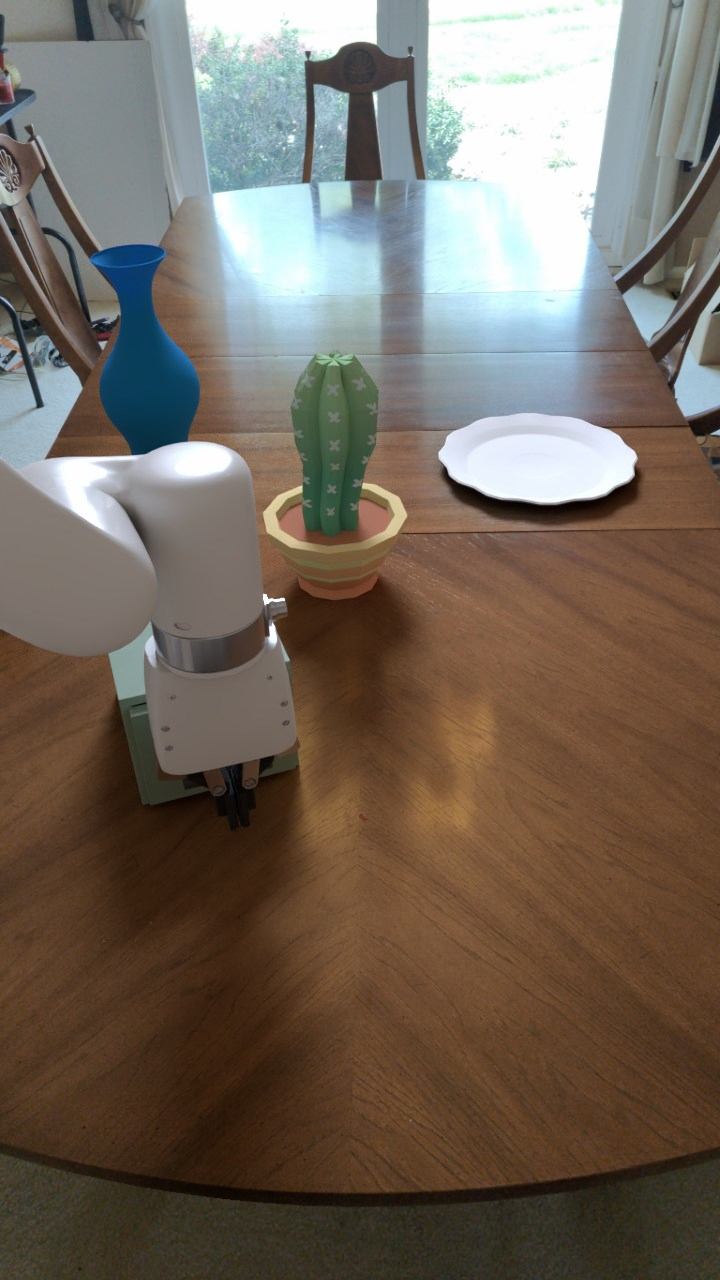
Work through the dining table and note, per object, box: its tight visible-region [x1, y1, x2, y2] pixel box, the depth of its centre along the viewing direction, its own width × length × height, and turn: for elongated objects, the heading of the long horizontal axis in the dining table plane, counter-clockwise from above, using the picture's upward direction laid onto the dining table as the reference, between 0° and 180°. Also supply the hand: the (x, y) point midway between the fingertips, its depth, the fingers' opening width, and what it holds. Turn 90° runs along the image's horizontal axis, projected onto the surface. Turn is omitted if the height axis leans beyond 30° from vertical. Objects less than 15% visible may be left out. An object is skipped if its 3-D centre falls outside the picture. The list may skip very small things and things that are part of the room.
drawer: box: [129, 702, 297, 806], centre depth 83 cm, size 19×12×10 cm, turn 19°
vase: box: [89, 243, 201, 456], centre depth 120 cm, size 12×13×28 cm
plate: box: [438, 412, 639, 507], centre depth 127 cm, size 25×25×2 cm
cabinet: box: [107, 620, 300, 806], centre depth 86 cm, size 16×14×12 cm
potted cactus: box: [262, 349, 409, 601], centre depth 101 cm, size 15×16×25 cm
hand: (236, 815), depth 76 cm, fingers closed
